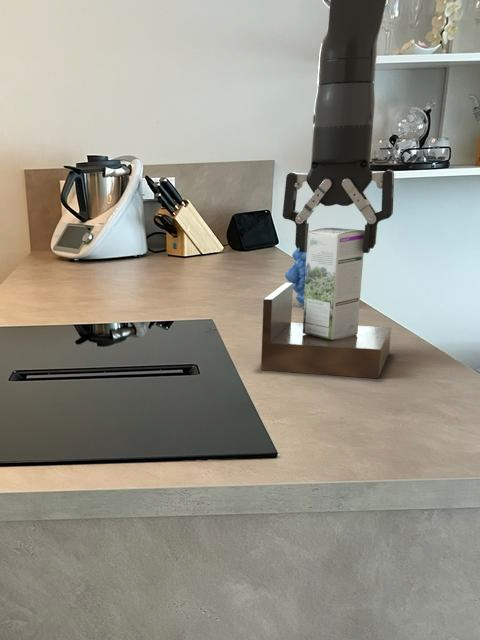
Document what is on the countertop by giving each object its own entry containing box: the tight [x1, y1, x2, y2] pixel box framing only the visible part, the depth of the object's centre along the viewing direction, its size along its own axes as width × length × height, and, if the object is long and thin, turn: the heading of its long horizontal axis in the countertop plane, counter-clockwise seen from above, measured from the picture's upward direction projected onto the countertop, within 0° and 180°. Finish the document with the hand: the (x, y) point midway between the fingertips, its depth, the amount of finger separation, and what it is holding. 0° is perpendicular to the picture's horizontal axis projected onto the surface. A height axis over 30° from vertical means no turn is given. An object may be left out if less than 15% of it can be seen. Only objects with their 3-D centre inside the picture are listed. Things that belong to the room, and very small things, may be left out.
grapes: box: [284, 248, 307, 307], centre depth 151 cm, size 12×7×12 cm, turn 9°
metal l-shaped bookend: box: [260, 282, 392, 379], centre depth 112 cm, size 16×14×10 cm
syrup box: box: [302, 227, 365, 340], centre depth 110 cm, size 6×6×14 cm
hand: (334, 252), depth 108 cm, fingers open, 8 cm apart
